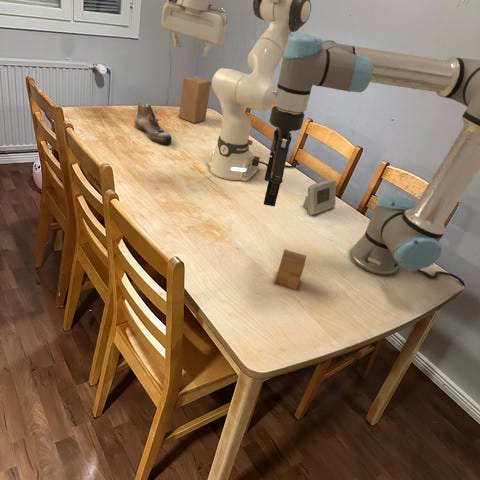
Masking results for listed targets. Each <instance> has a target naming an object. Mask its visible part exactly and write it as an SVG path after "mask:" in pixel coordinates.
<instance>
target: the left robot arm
mask: <svg viewBox="0 0 480 480" xmlns="http://www.w3.org/2000/svg"><path fill="white" fill-rule="evenodd" d="M252 10H253V13H254V16H255V17H256V18H258V19H260V20H262V21H267V22H269V26H268V27H267V28H266V30H265V31H264V32H262V34H261V36H260V37H259V38H258V39H257V41H256V42H255V44H254V45H253V47H252V49H250V52H249V53H248V55H247V65H248V67H249V69H250V71H251V72H250V73H245V72H242V71H239V70H237V69H234V68H225V67H223V68H222V67H221V68H219V69H218V70H216V71H215V73H214V74H213V76H212V80H211V89H212V91H213V93H214V94H215V95H216V97H217V99H218V101H219V104H220V108H221V114H222V115H221V116H222V118H221V120H222V121H221V127H220V135H219V136H218V139H217V145H216V146H215V147H214V149H213V151H212V157H211V160H209V161H208V164H207V165H208V166H209V170H210V172H211V173H212V174H213V175H215V176H216V177H218V178H220V179H225V180H229V181H242V182H247V181H249V179H251V177H253V176H254V175H255V174H256V173H257V172H258V171H259V164H262V165H264V166H266V167H267V166H268V163H266V162H264V161H261V160H260V159H261V157H260V156H256V155H254V154H253V153H252V152H251V151H250V146H252V145H253V143H254V141H253V140H251V139H249V138H250V133H251V129H252V121H251V118H250V117H249V116H248V115H247V113H246V112H245V109H244V107H245V108H247V109H250V110H253V111H258V112H259V111H260V112H267V111H269V110H270V109H272V107H274V98H275V96H276V95H273V91H277V89H276V87H275V85H274V83H273V75H274V72H275V70H276V69H277V67H278V65H280V62H281V60H283V54H284V51H285V47H286V44H287V40H288V37H289V36H290V35H291V34H292V33H297V32H298V31H299V30H300V28H302V27H303V26H304V25H305V24H306V23H307V22H308V20H309V18H310V16H311V12H312V2H311V0H252ZM228 17H229V16H228V13H227V11H226V10H225V9H224V8H223V7H218V6H215V5H213V0H165V3H164V5H163V8H162V14H161V25H162V26H161V27H162V28H163V29H165V30H167V31H171V38H172V40H173V47H174V48H175V49H178V50H179V49H181V48H182V42H181V41H180V40H179V36H180V34H182V35H185V36H188V37H192V38H196V39H199V40H203V41H205V42H204V43H205V44H204V45H205V47H204V48H203V49H200V56H201V57H203V58H207V57H208V56H209V51H210V49H212V47H213V46H214V44H216V45H221V44H223V43H224V42H225V41H226V34H227V23H228ZM297 165H298V166H300V163H299V162H295V163H294V164H293V165H287V164H285V168H290V169H291V168H295V167H296V166H297Z"/></svg>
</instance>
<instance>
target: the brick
mask: <svg viewBox="0 0 480 480" xmlns="http://www.w3.org/2000/svg"><path fill="white" fill-rule="evenodd" d="M306 260H307V255H306V254H303V253H299V252H295V251H292V250H289V249H283V253H282V256H281V259H280V263H279V266H278V270H277V273H276V277H275V280H274V284H275V285H278V286H283V287H285V288H289V289H292V290H295V291H296V290H297V289H298V286H299V283H300V280H301V277H302V274H303V271H304V268H305V264H306Z"/></svg>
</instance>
